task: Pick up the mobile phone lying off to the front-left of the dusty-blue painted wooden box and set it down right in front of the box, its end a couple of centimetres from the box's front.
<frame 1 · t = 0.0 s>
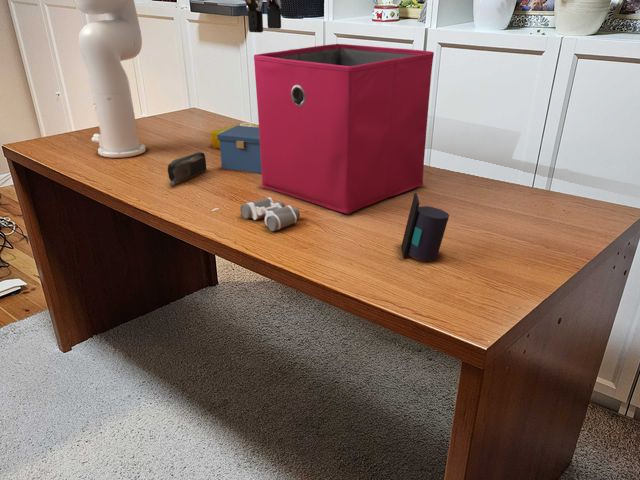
hand: (265, 30, 133), 31 cm above the table, tool pointing down, fingers open, 9 cm apart
element tile: (246, 146, 169), on the table
blue box: (251, 165, 153), on the table
storage bin: (340, 187, 139), on the table
mobile phone: (187, 179, 144), on the table
binoculars: (273, 221, 121), on the table
speaker: (421, 255, 107), on the table
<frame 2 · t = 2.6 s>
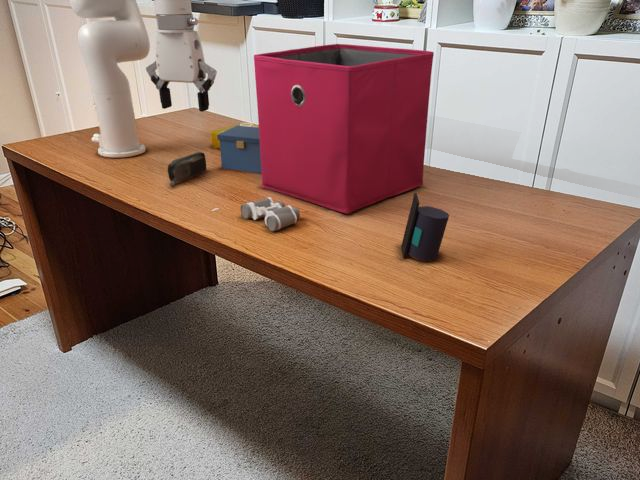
hand: (185, 109, 135), 16 cm above the table, tool pointing down, fingers open, 9 cm apart
nothing on the table moved.
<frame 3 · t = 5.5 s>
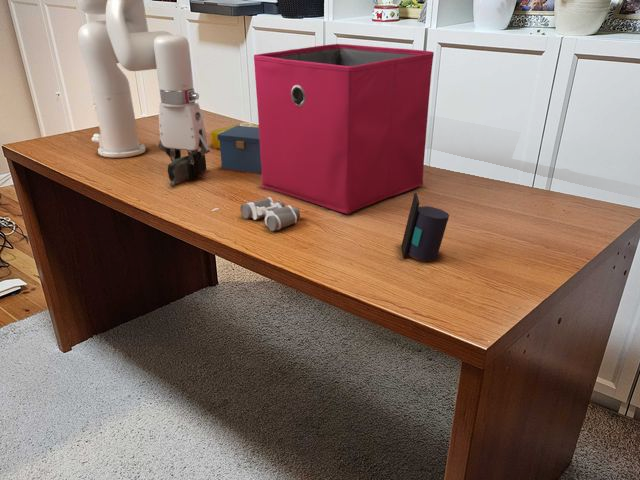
hand: (187, 177, 144), 0 cm above the table, tool pointing down, fingers closed on mobile phone, 3 cm apart
mobile phone: (187, 179, 144), on the table, touching gripper
everything else where it was.
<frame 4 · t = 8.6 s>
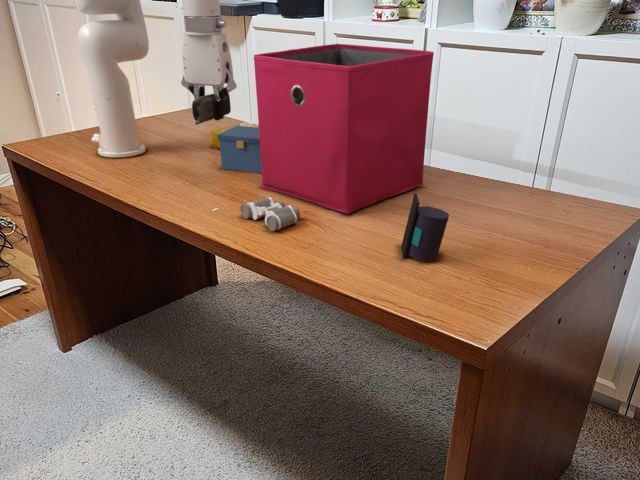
hand: (211, 117, 133), 15 cm above the table, tool pointing down, fingers closed on mobile phone, 3 cm apart
mobile phone: (211, 119, 133), point 14 cm above the table, touching gripper
everything else where it was.
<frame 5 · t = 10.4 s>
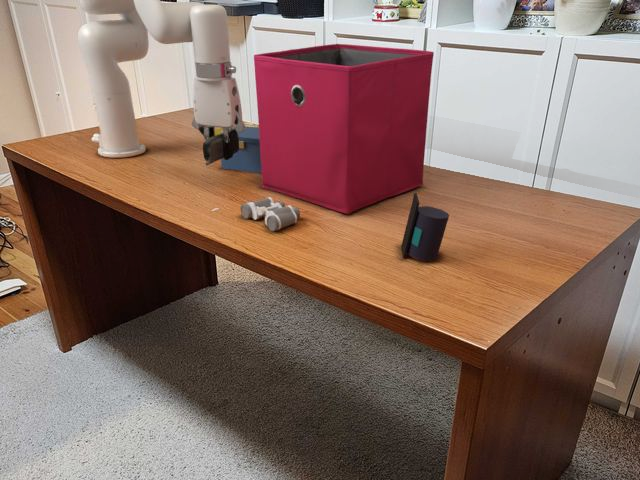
hand: (221, 156, 137), 6 cm above the table, tool pointing down, fingers closed on mobile phone, 3 cm apart
mobile phone: (221, 158, 137), point 6 cm above the table, touching gripper
everything else where it was.
when the fingers open (0 cm above the table, at t = 12.0 s): mobile phone stays where it is, on the table.
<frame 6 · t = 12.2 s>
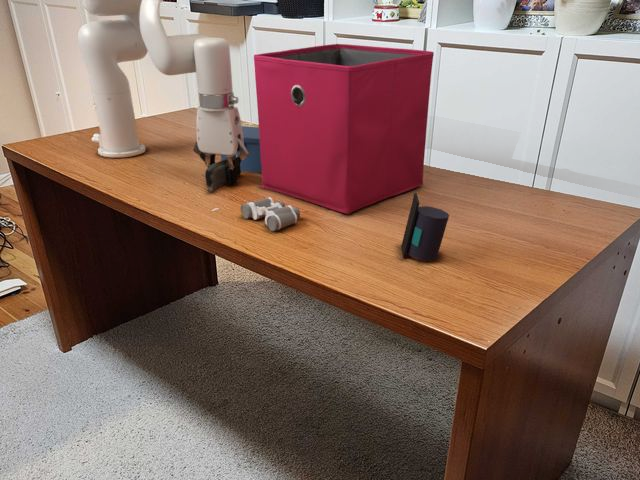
hand: (223, 182, 141), 0 cm above the table, tool pointing down, fingers open, 4 cm apart
mobile phone: (223, 184, 141), on the table
everything else where it was.
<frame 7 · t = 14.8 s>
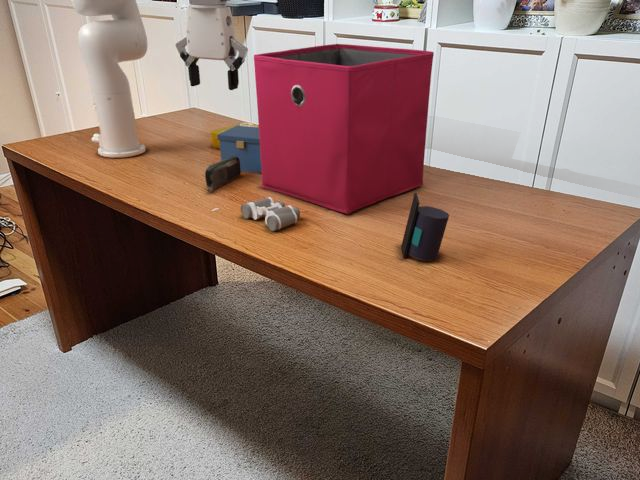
hand: (214, 87, 133), 20 cm above the table, tool pointing down, fingers open, 9 cm apart
nothing on the table moved.
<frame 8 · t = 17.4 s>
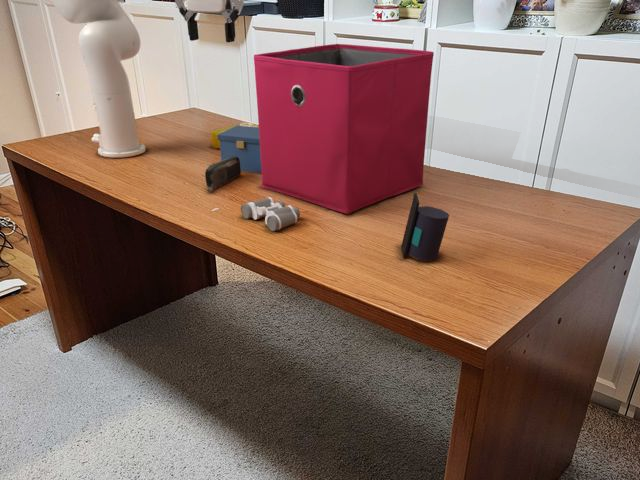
hand: (212, 40, 141), 28 cm above the table, tool pointing down, fingers open, 9 cm apart
nothing on the table moved.
at the end: mobile phone inside the target area on the table beside the blue box (0.4 cm from its centre), on the table; the gripper is holding nothing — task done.
